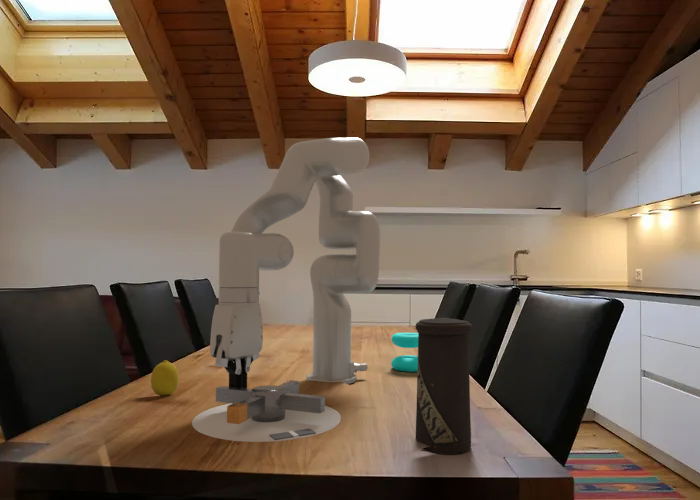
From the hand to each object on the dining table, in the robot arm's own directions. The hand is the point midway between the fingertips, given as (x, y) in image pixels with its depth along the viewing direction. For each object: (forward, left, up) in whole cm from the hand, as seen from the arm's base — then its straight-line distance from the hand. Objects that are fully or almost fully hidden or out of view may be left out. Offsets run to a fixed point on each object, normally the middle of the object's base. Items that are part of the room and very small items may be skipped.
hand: (237, 393), depth 96 cm
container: (-23, +32, -4) cm, 40 cm away
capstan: (-3, +8, -3) cm, 9 cm away
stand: (-3, +8, -4) cm, 9 cm away
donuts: (-57, -23, -4) cm, 62 cm away
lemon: (+10, -19, -4) cm, 22 cm away
